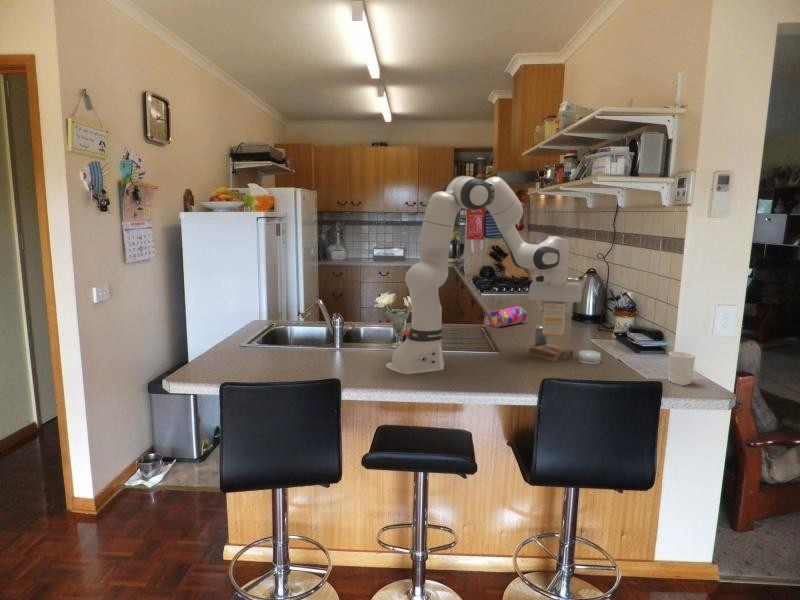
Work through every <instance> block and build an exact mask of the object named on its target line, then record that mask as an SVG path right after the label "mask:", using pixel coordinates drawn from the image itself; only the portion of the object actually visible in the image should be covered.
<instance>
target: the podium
mask: <svg viewBox="0 0 800 600" xmlns="http://www.w3.org/2000/svg"><path fill="white" fill-rule="evenodd" d="M528 350H529V351H528V355H529V356H531V357H536V358H539V359H543V360H545V361H546V360H547V361H550V362H554V363H555V362H558V361H563V360H567V359H571V358H573V355H574V350H573V349H569V348H565V347H562V346H557V345H553V344H549V343H547V344H546V345H542V346H537V347H536V346H534V347H529V348H528Z"/></svg>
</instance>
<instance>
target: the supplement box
mask: <svg viewBox="0 0 800 600" xmlns="http://www.w3.org/2000/svg"><path fill="white" fill-rule="evenodd" d="M542 307H543V312H542V319H541V320H542V322H541V325H542V334H543V335H547V337H548V336H549V337H550V336H551V337H552V336H553V337H564V336H565V320H566V318H565V317H566V313H565V308H566V302H560V301H542Z"/></svg>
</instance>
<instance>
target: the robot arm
mask: <svg viewBox="0 0 800 600" xmlns="http://www.w3.org/2000/svg"><path fill="white" fill-rule="evenodd" d="M523 207H524V206H523V205H522V203H521V201H520V200H519V198H518V196H517V195H516V193H515V192H514V190H513V189H512V188H511V187H510V186H509V184H508V183H507V182H506V181H505V180H503V178H502V177H500V176H492V177H491V176H490V177H489V178H486V179H485V180H483V179H481V178H476V177H474V176H470V175H457V176H455V177H453V178H451V179H450V180H449V181H448V183H447V184H446V186H445V187H444V188H443V190H442V191H436V192H434V193H433V194H432V195H431V196H430V198H429V200H428V204H427V206H426V209H425V212H424V216H423V220H422V225H421V231H420V237H419V241H418V242H419V243H418V244H419V248H420V249H419V250H420V251H419V252H420V253H419V255H420V256H419V261H418V262H416V263H414V264H413V265H412V266H410V267H409V268H408V270H407V271H406V274H405V277H404V281H405V284H406V287H407V288H408V293H409V298H410V304H411V306H410V307H411V327H410V328H409V330H408V329H403V330H402V332H401V334H402V335H404V336H406V337H407V338H406V339H405V340H404V341H403V342H402V343H401V344H400V345H399V346H398V347H396V349H395V350H393V352H392V355H391V356H392V358H391V362H388V363H386V364H385V368H386V369H388V370H391V371H393V372H396V373H399V374H405V375H410V374H411V375H413V374H422V373H429V372H437V371H443V370H444V367H445V365H446V364H445V361H444V360H445V359H444V356H443V355H444V354H443V347H442V345H443V344H442V339H443V327H442V324H443V323H442V319H443V317H442V315H443V313H442V312H443V307H442V305H441V300H440V296H439V295H440V294H439V288H441V287H442V286H443V285H444V284H445V282H446V281H447V279H448V277H449V262H450V261H449V259H450V257H449V255H450V247H451V242H452V238H453V232H454V228H455V224H456V217H457V215H458V213H459V212H460V210H462V209H466V210H470V211H477V210H478V211H479V210H481V209H483V208H486V209H487V211H488V212H489V214H490V215H491V217H492V218H493V220H494V222H495V226H496V228H497V230H498V233H499V234H500V235H501V237H502V239H503V241H504V243H505V244H506V246H507V249H508V252H509V255H510V258H511V261H512V263H513V265H514V266H515V267H516V268H518V269H530V270H533V271H534V270H535V271H536V270H537V271H544V272H542V273H538V274H534V275H532V277H531V278H532V282H531V283H530V285H529V289H528V296H527V299H528V300H530V301H536V305H537V306H538V308H539V310H538V312H540V313H543V306H541V301H542V302H543V301H545V302H564V303H567V305H568V306H567V307H565V314H569V310H570V308H571V307H572V306H573V303H581V301H582V298H583V297H582V290H583V288H584V281H583V280H582V279H580V278H573V277H568V275H569V274H568V272H569V269H568V262H569V259H570V258H569V256H570V244H569V241H568V239H567V238H566V237H564V236H559V235H549V236H548V237H547V238H546V239H545V240H544V241H541V242H539V243H538V244H535V243H534V244H533V243H528V242H526V241H524V239H522V236H521V235H520V233H519V231H518V230H517V227H516V225H517V224H518V223H519V222H520V220H521V219H522V217H523V215H524V208H523Z"/></svg>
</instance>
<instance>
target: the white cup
mask: <svg viewBox="0 0 800 600" xmlns="http://www.w3.org/2000/svg"><path fill="white" fill-rule="evenodd" d="M695 360H696V355H695V354H694V353H690V352H685V351H676V350H675V351H670V352H669V353H668V365H667V366H668V367H667V369H668V371H667V372H668V373H667V374H668V378H667V380H669V381H671V382H674V383H678V384H690V385H691V382H692V377H693V372H694V366H695ZM669 381H668V382H669Z"/></svg>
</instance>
